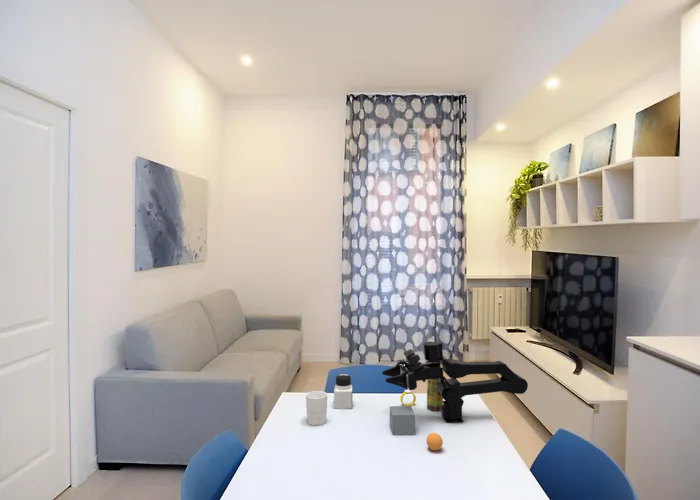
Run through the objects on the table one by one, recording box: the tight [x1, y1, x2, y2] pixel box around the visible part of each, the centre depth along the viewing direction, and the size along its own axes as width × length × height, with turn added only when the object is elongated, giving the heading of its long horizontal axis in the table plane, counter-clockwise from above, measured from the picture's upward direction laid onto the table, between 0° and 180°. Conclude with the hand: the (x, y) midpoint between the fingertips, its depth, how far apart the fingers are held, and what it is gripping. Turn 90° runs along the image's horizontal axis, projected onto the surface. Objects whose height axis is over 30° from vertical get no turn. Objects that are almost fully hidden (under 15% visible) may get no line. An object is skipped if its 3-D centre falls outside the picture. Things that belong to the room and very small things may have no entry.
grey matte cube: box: [389, 405, 416, 436], centre depth 141 cm, size 8×8×7 cm
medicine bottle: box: [333, 374, 353, 410], centre depth 164 cm, size 7×7×12 cm
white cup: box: [305, 390, 328, 427], centre depth 148 cm, size 8×8×10 cm
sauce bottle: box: [426, 363, 444, 412], centre depth 160 cm, size 6×6×20 cm
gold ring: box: [400, 389, 417, 407], centre depth 164 cm, size 6×3×6 cm, turn 103°
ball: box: [426, 432, 444, 451], centre depth 128 cm, size 5×5×5 cm
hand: (384, 376), depth 149 cm, fingers open, 9 cm apart
